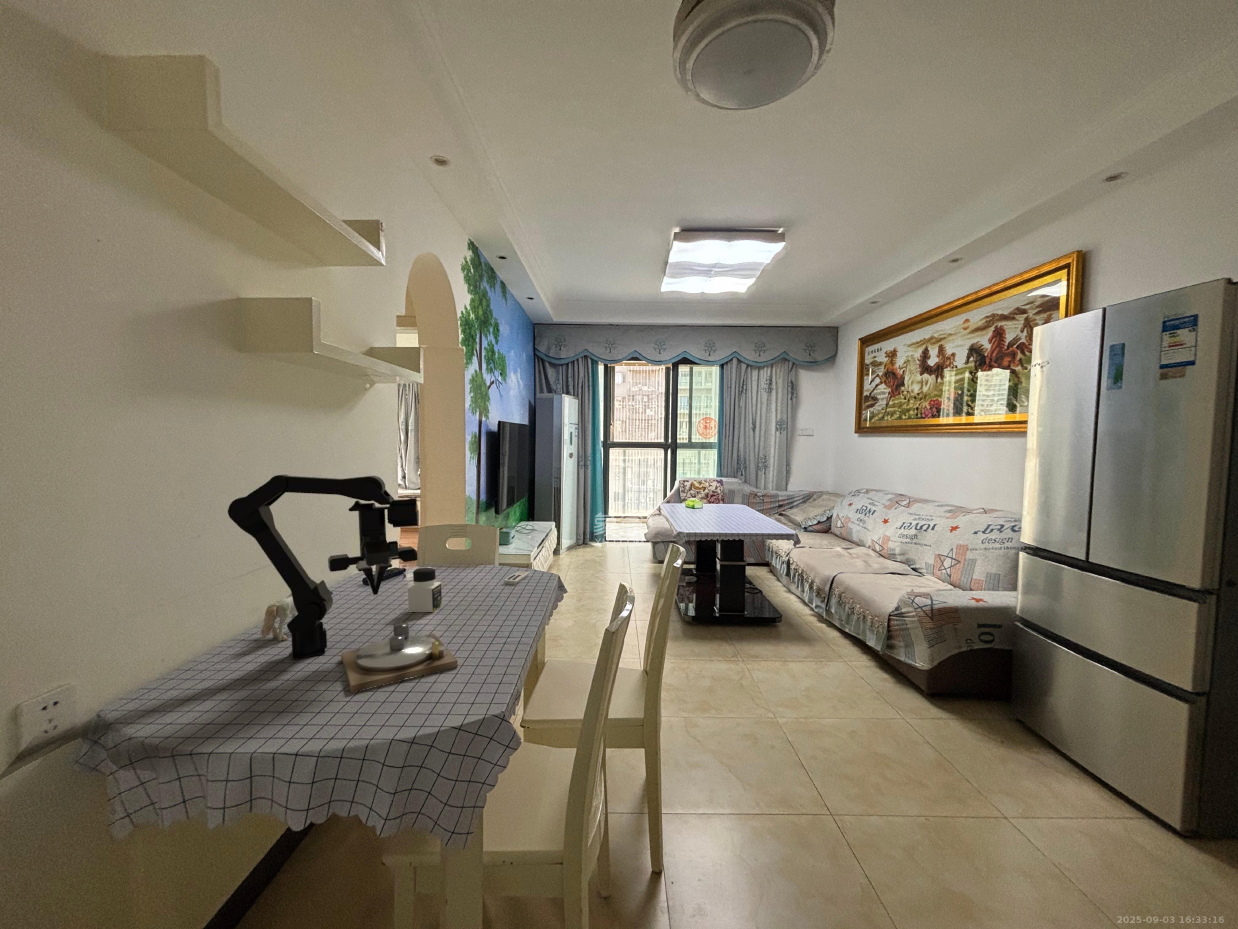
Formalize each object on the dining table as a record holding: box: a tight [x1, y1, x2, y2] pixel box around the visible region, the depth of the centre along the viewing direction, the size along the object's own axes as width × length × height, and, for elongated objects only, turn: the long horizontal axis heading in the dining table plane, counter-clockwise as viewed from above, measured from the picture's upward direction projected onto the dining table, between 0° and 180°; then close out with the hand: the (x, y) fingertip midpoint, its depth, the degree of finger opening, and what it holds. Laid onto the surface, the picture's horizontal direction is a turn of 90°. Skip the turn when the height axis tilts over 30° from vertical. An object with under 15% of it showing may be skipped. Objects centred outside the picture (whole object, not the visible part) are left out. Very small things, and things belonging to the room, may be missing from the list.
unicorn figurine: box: [260, 592, 298, 642], centre depth 135 cm, size 7×20×13 cm, turn 12°
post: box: [388, 635, 405, 651], centre depth 113 cm, size 3×3×2 cm
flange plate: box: [356, 622, 448, 671], centre depth 113 cm, size 18×16×4 cm
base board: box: [340, 633, 459, 694], centre depth 114 cm, size 20×20×2 cm
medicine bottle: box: [407, 566, 443, 613], centre depth 152 cm, size 7×7×12 cm
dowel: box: [432, 642, 439, 660], centre depth 111 cm, size 1×1×4 cm
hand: (375, 594), depth 125 cm, fingers closed
